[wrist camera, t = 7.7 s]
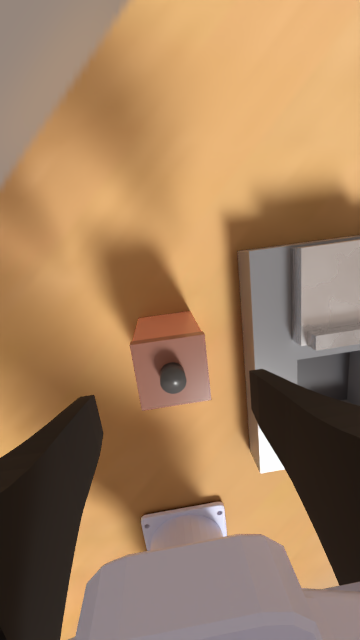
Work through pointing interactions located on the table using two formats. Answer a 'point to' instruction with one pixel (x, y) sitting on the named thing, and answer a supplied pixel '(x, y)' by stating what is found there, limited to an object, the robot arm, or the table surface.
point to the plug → (170, 361)
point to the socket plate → (285, 339)
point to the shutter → (326, 295)
